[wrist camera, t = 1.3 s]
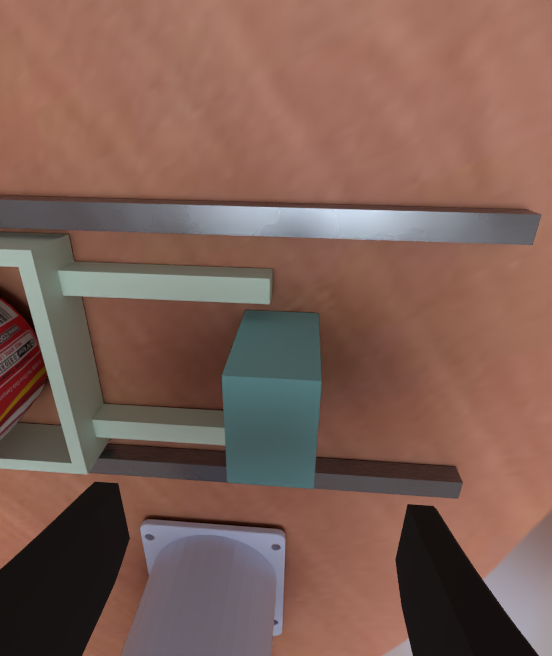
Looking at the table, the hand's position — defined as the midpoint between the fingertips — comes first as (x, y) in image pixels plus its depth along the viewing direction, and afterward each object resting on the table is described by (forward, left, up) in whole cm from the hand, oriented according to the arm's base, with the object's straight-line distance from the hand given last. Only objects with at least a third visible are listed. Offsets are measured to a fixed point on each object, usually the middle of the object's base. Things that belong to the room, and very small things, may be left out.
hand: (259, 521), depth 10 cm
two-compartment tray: (0, +9, -8) cm, 12 cm away
